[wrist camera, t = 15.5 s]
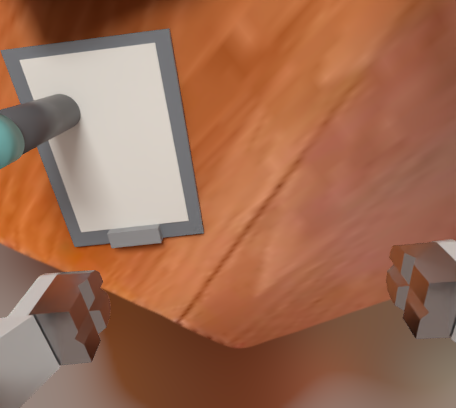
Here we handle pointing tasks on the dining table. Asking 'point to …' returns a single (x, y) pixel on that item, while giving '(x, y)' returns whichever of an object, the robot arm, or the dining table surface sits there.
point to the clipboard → (115, 137)
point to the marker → (34, 124)
